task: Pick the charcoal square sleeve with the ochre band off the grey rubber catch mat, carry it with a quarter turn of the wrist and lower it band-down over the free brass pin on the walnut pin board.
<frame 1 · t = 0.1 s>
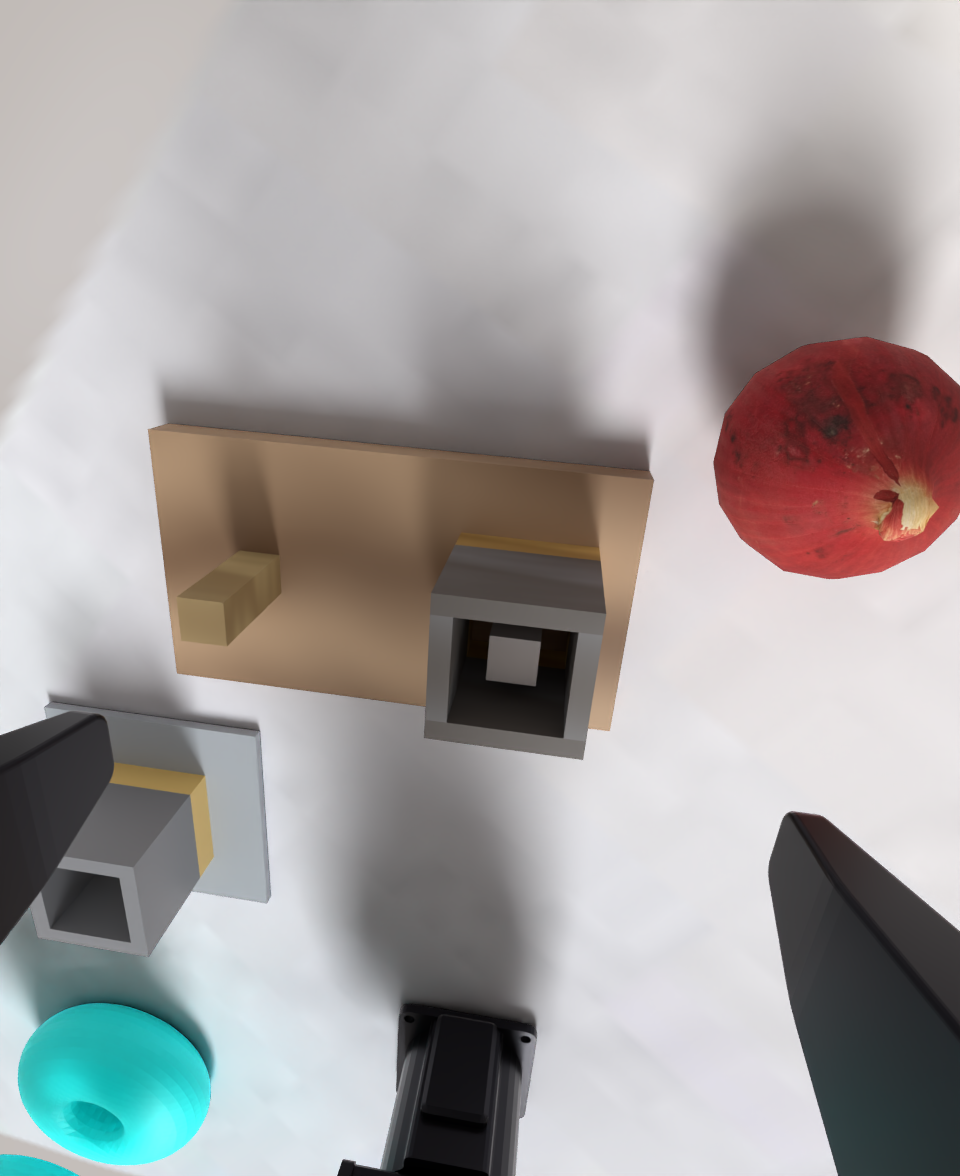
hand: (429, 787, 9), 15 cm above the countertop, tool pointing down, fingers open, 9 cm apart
onion: (790, 434, 21), on the countertop
sleeve: (160, 809, 29), resting on catch mat
pin board: (398, 574, 24), on the countertop
donuts: (135, 1050, 37), on the countertop
catch mat: (165, 803, 29), on the countertop
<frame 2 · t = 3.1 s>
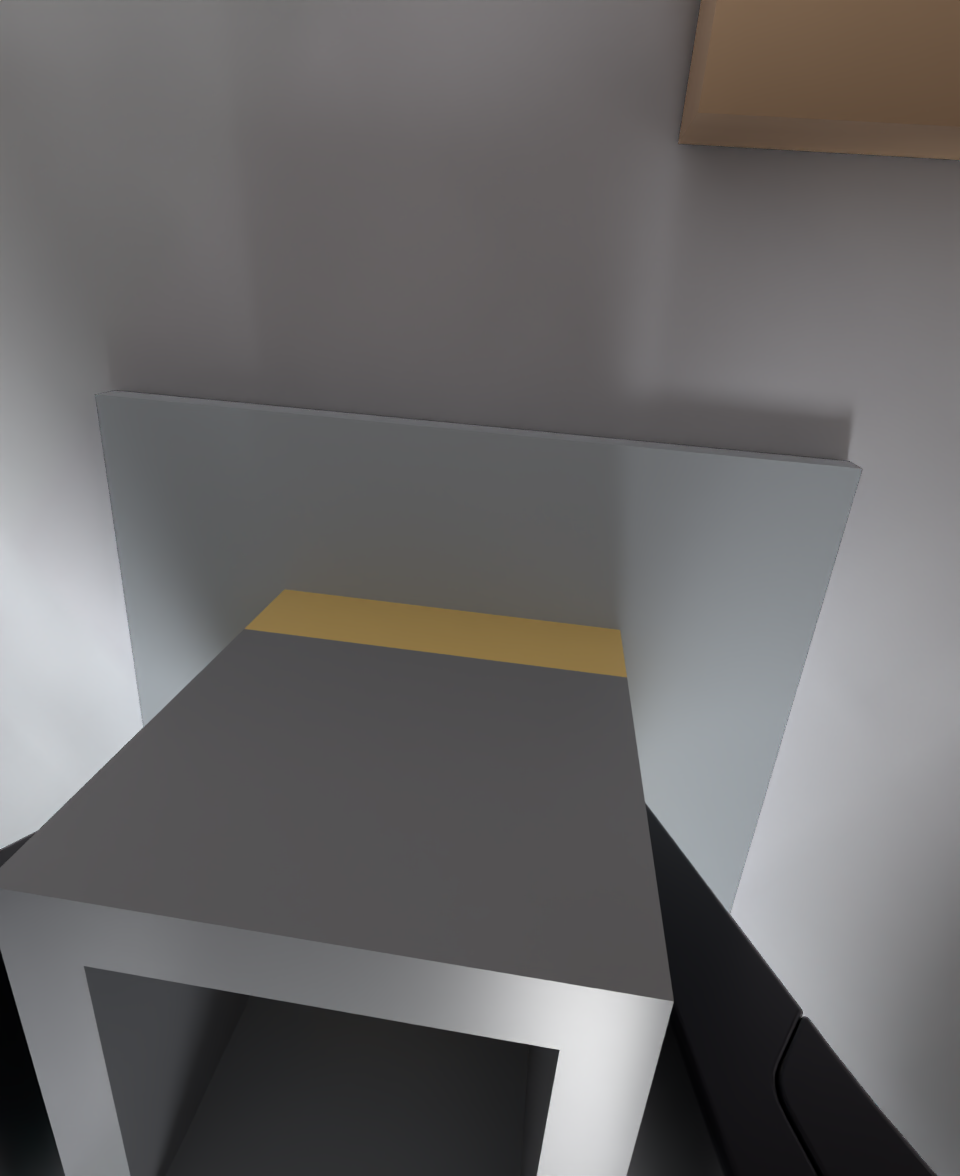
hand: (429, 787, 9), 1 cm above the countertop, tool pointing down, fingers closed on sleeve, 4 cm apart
sleeve: (440, 749, 10), resting on catch mat, touching gripper
catch mat: (444, 733, 10), on the countertop
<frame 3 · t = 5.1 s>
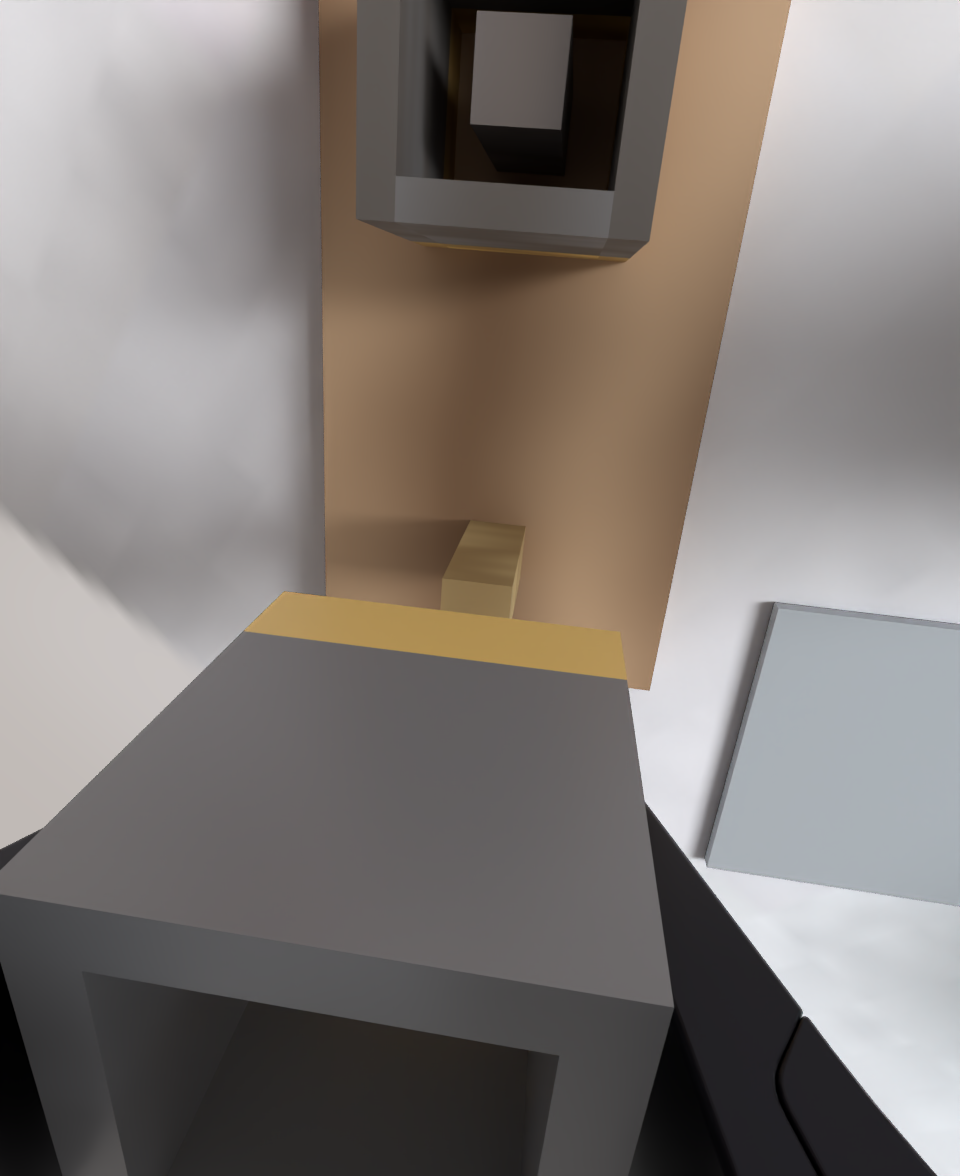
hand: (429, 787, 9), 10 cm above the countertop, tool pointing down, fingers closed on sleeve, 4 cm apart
sleeve: (439, 751, 10), point 10 cm above the countertop, touching gripper
pin board: (516, 361, 17), on the countertop
catch mat: (896, 763, 20), on the countertop
when the fingers open (3 cm above the countertop, at t = 7.0 s): sleeve drops 1 cm, resting on pin board.
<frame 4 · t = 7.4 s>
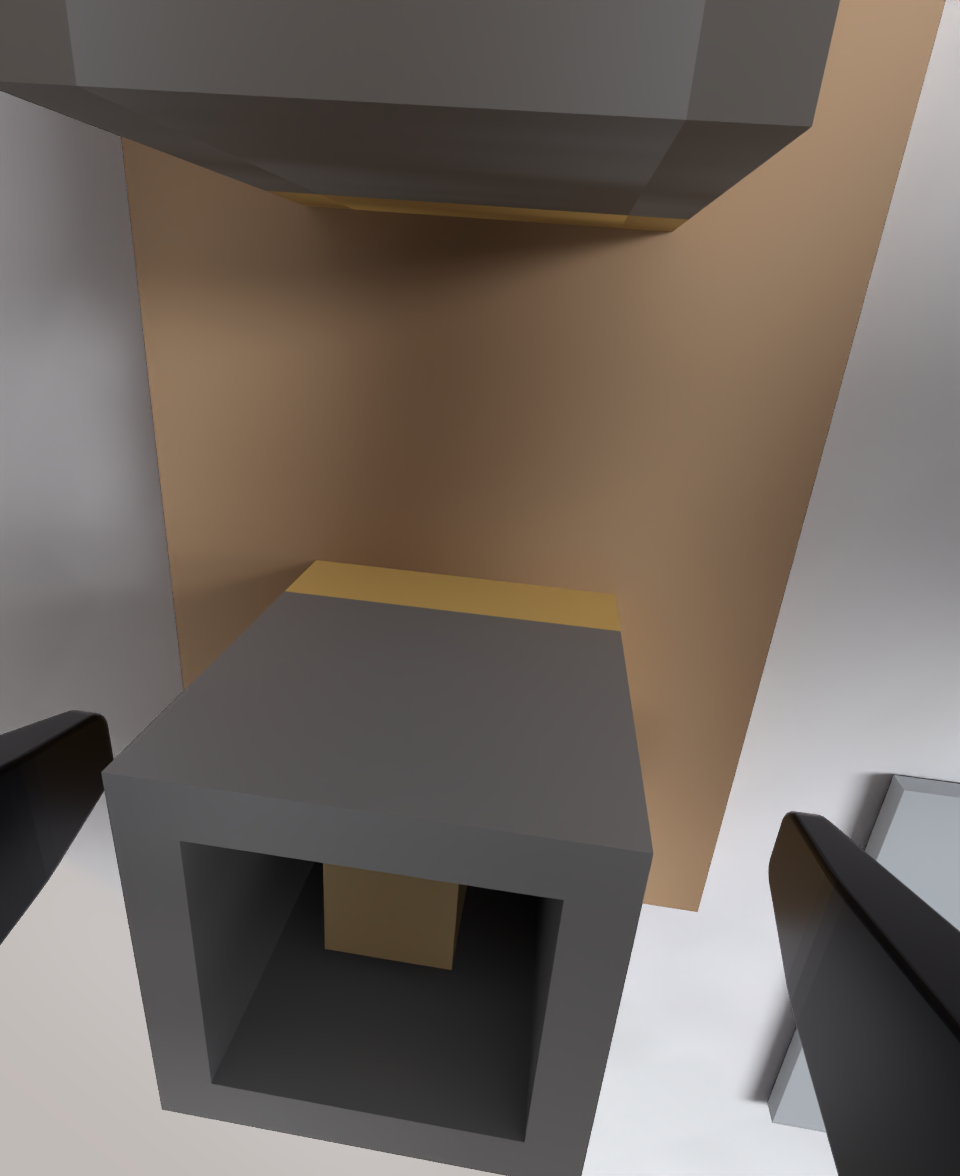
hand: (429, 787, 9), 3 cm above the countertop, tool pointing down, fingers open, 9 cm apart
sleeve: (454, 705, 11), point 1 cm above the countertop, touching pin board
pin board: (482, 403, 10), on the countertop
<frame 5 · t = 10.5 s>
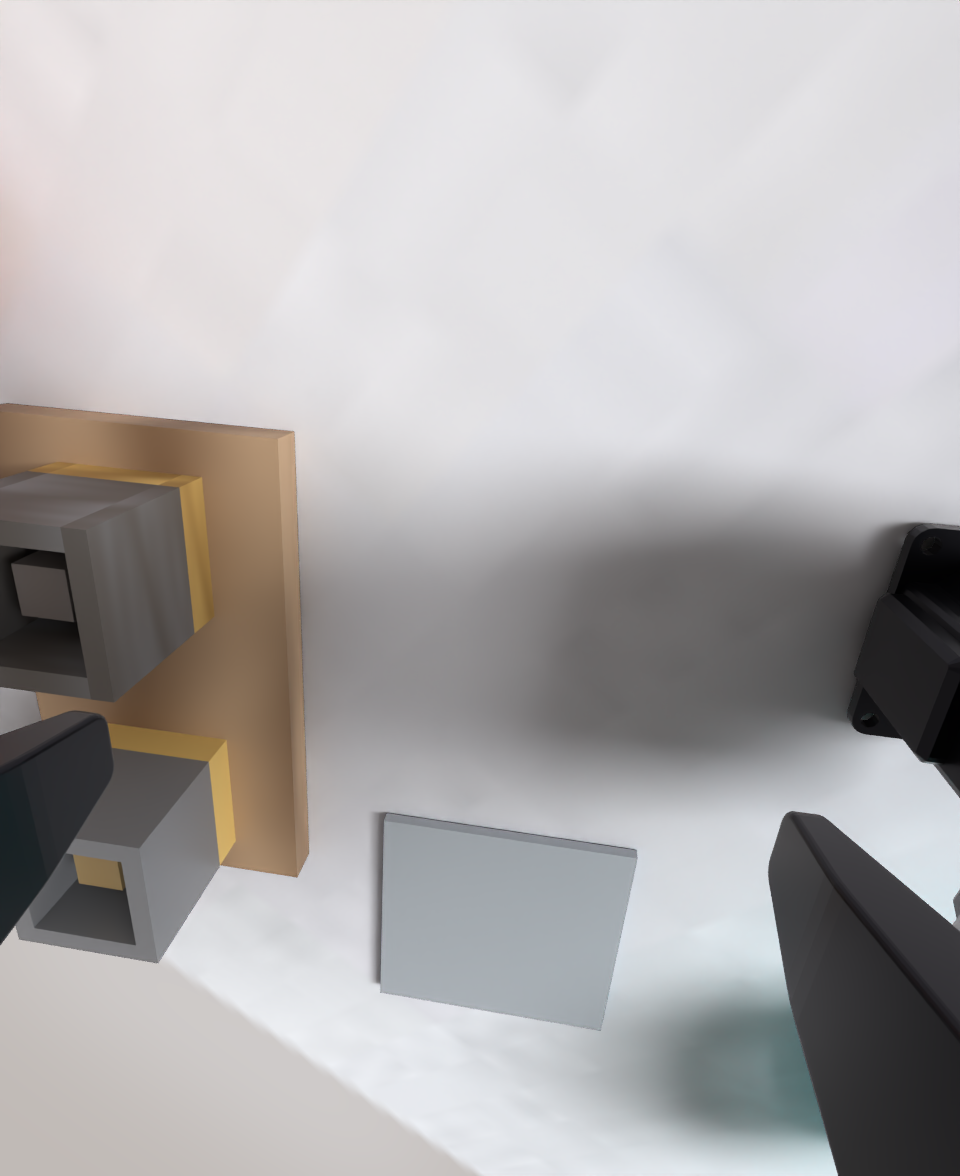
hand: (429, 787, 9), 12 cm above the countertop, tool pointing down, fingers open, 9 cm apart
sleeve: (171, 783, 24), point 1 cm above the countertop, touching pin board
pin board: (175, 654, 23), on the countertop
catch mat: (499, 922, 26), on the countertop
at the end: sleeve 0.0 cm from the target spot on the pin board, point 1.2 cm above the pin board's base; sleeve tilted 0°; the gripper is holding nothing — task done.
